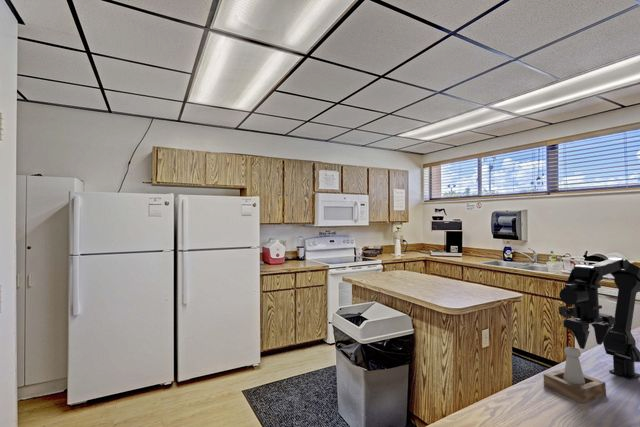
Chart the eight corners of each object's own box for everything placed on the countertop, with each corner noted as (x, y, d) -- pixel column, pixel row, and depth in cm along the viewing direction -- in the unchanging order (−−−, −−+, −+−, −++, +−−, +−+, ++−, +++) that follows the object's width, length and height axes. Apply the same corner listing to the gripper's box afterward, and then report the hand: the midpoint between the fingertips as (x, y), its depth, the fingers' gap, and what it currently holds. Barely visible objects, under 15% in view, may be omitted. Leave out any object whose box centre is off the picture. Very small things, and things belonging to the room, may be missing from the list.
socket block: (567, 379, 117) (566, 367, 117) (606, 395, 106) (605, 382, 106) (544, 385, 113) (543, 374, 113) (582, 403, 101) (581, 390, 102)
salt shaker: (589, 392, 106) (587, 351, 106) (570, 391, 107) (568, 351, 107) (578, 383, 112) (576, 345, 112) (560, 382, 113) (558, 344, 113)
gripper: (580, 294, 124) (582, 335, 124) (546, 299, 118) (549, 343, 117) (614, 300, 114) (617, 345, 113) (580, 306, 107) (583, 354, 107)
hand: (590, 346), depth 113 cm, fingers open, 9 cm apart
